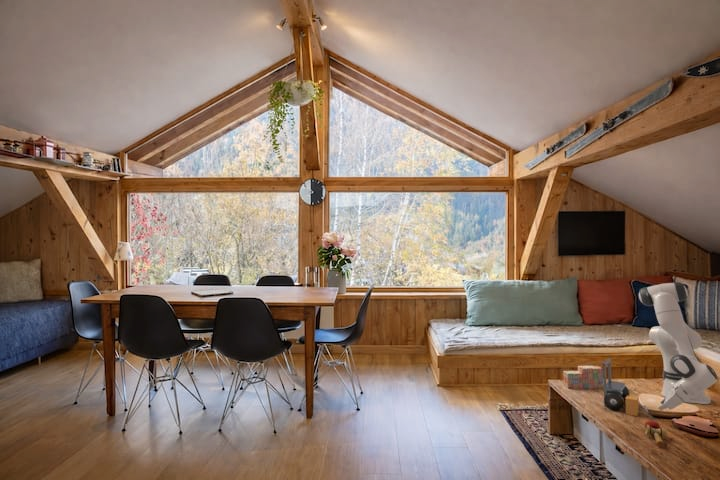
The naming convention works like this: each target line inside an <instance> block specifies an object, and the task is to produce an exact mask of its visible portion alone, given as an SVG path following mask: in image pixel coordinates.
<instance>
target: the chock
mask: <svg viewBox="0 0 720 480" xmlns="http://www.w3.org/2000/svg"><path fill="white" fill-rule="evenodd" d="M639 410H640V409H639V397H637V396H631V395H629V396H627V397H626V400H625V414H626V415H631V416H637V417H638V415H639V414H640V411H639ZM638 413H639V414H638Z"/></svg>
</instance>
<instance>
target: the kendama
mask: <svg viewBox="0 0 720 480" xmlns="http://www.w3.org/2000/svg"><path fill="white" fill-rule="evenodd" d="M644 431H645V432H644V433H645V435H646V436H650V435H653V436H654V440H655V442H656V445H657V447H659V448H660V449H662V448H665V446H666V443H665V442H664V441H663V440H665V437H666V430H665V428H664V427H661V426H660V425H659V423H658V422H657V421H655V420H651V419H649V420H647V421H646V422H645V423H644Z"/></svg>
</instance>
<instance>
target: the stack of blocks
mask: <svg viewBox="0 0 720 480" xmlns="http://www.w3.org/2000/svg"><path fill="white" fill-rule="evenodd" d="M562 373H563V375H562V376H563V386H564V387H565V388H567V389H571V390H572V389H581V390H582V389H604V385H603V367H601V366H599V365H578V366H577V370H563V372H562Z"/></svg>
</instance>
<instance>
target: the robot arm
mask: <svg viewBox="0 0 720 480" xmlns="http://www.w3.org/2000/svg"><path fill="white" fill-rule="evenodd" d="M688 293H689V292H688V289H687V287H686V286H685V285H684V284H683V283H682V282H678V281H677V282H676V281H675V282H667V283H660V284H655V285H650V286H648V287H647V286H645V287H642V288H640V289H639V291H638V299H639V301H640V302H641V303H642V305H644V306H646V307H650V308H651V307H652V306H653V307H654V311H655V316H656V319H657V320H656V321H657V322H658V324H659V325H657V326H652V327H651V328H650V330H649V333H648V337H649V339H650V341H651V342H652V343H653V344H655V345H656V347H657V348H658V350H659V351H660V354H661V356H662V360H663V361H662V362H663V370H662V379H663V385H662V390H661V393H660V394H661V396H662V397H665V398H663V399H662V400H661V401H660V404H661V405H659V406H658V410H659V411H661V412H663V411H664V410H666V409H668V410H673V409H674V408H676V407H678V406H680V405H682V404H684V403H689V404H690V403H692V404H701V405H709V404H711V402H712V399H711V398H710V397H709V396H708V395H707V394H706V391H705V390H707V389H708V388H711V387H712V386H713V385H714V384H715V383H716V382H717V381H718V374H717V372H716V371H715V370H714V368H712V366H710V365H709V364H708V363H703V362H702V361H701V360H700V358H698V356H697V355H696V353H695V350H697V349H699V348H700V347H701V345H702V343H703V342H702V336H701V335H700V333H699V332H697V331H696V330H694V329H693V328H691V327H690V326H689V325H688V324H687V323H686V321H685V319H684V316H683V313H682V309H681V307H680V304H679V303H682V302H684V301H686V300H687V299H688Z"/></svg>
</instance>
